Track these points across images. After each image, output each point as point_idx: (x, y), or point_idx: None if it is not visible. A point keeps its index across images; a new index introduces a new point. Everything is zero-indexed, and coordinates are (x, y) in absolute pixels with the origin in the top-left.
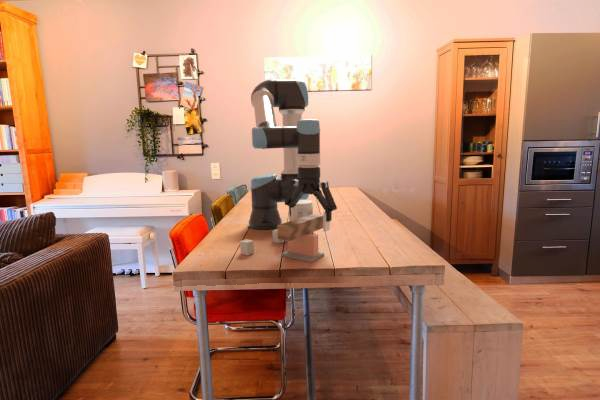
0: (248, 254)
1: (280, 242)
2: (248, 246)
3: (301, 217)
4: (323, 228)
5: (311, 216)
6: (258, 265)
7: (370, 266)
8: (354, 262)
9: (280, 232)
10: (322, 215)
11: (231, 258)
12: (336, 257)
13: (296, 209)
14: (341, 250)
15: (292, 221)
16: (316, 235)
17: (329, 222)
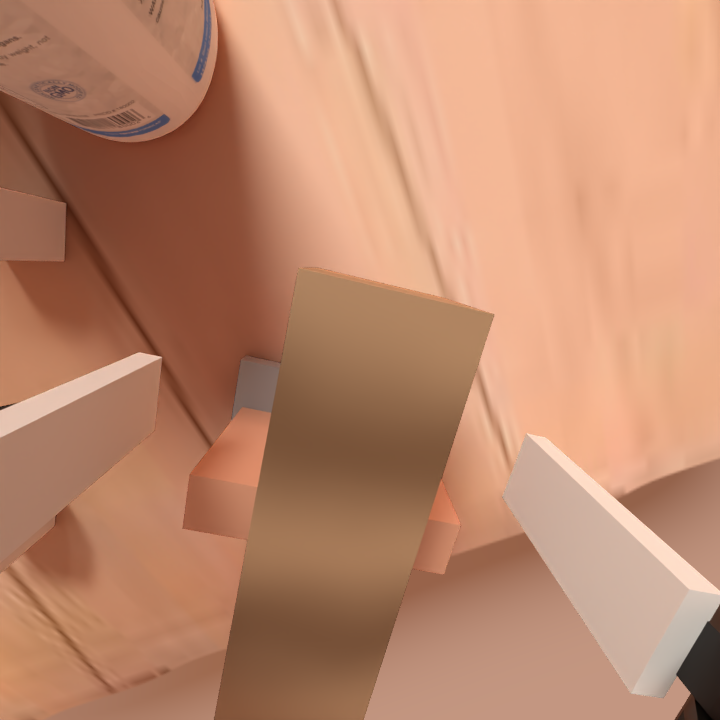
0: (52, 524)
1: (62, 252)
2: (12, 555)
3: (10, 18)
4: (514, 515)
5: (343, 449)
6: (199, 611)
7: (696, 461)
8: (617, 437)
9: None
10: (475, 341)
11: (15, 584)
12: (514, 399)
13: (10, 455)
14: (517, 269)
15: (243, 714)
16: (453, 542)
17: (588, 479)
